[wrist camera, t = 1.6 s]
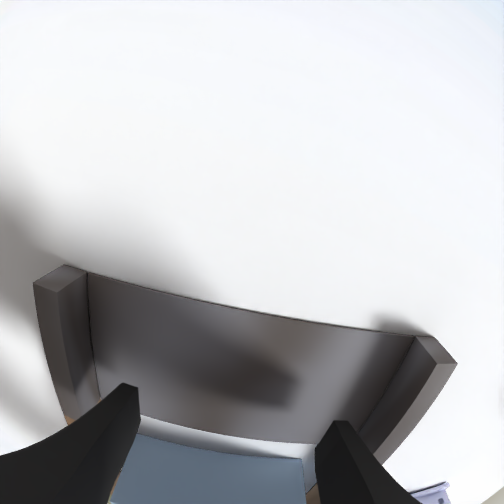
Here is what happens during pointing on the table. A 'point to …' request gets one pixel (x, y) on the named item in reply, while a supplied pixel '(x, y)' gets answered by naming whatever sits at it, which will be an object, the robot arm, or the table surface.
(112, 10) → the table surface
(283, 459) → the blue block
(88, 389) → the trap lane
